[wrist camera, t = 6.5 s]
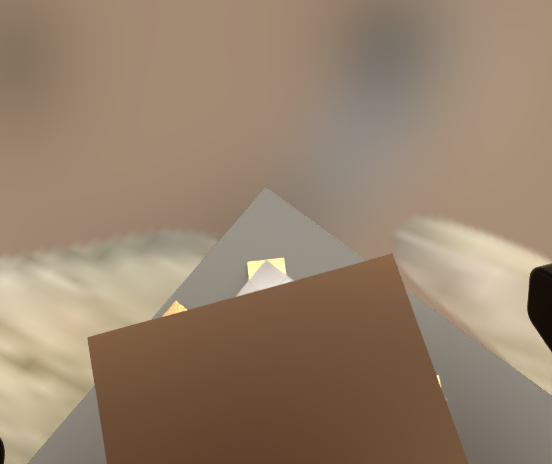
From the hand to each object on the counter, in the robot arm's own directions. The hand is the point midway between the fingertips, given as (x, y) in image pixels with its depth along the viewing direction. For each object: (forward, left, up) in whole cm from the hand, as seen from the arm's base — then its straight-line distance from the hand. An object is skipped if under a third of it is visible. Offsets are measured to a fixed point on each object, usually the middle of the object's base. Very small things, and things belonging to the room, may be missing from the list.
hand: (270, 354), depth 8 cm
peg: (-1, -1, -10) cm, 10 cm away
